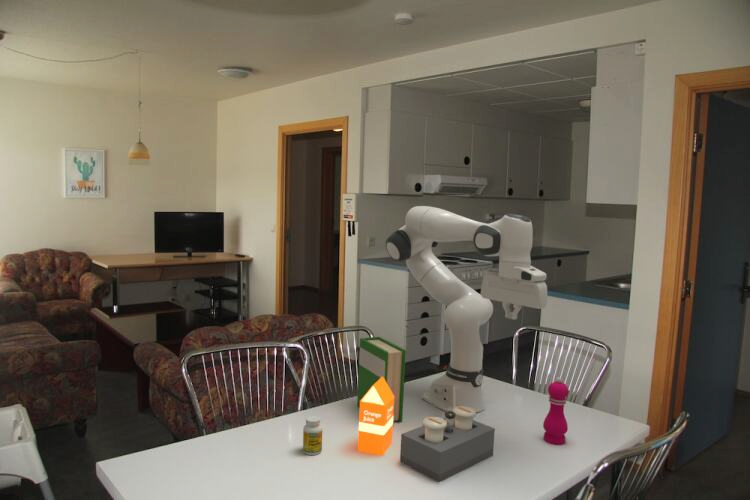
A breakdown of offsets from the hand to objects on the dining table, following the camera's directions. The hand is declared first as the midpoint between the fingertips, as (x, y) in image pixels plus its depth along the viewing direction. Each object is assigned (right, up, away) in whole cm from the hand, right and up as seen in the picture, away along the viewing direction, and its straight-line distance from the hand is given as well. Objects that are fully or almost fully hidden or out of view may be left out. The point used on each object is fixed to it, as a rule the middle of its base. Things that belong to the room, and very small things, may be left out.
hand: (511, 318), depth 163 cm
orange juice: (-39, -38, +1) cm, 54 cm away
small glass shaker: (-19, -31, -5) cm, 36 cm away
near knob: (-24, -37, -9) cm, 44 cm away
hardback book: (-38, -35, +26) cm, 58 cm away
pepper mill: (+16, -39, +11) cm, 44 cm away
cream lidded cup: (-14, -36, 0) cm, 39 cm away
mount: (-19, -39, -4) cm, 43 cm away
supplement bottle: (-57, -37, -3) cm, 68 cm away
